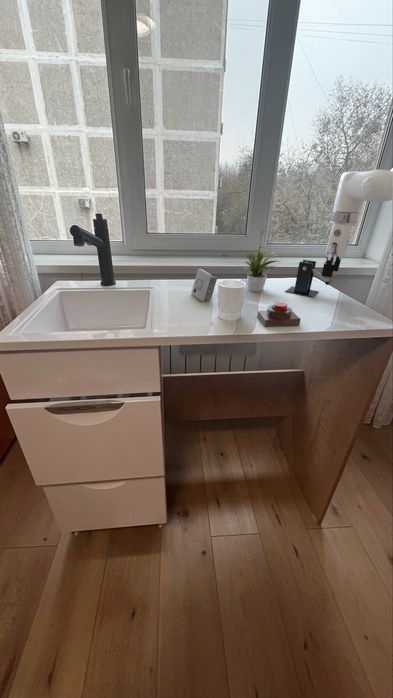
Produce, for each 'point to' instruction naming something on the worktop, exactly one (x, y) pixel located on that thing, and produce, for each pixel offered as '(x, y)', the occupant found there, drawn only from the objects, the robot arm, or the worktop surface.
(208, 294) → the electrical switch
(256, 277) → the house plant
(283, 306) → the button
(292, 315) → the button block
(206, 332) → the worktop surface
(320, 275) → the grey lever
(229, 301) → the white cup
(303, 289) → the black upright stand
